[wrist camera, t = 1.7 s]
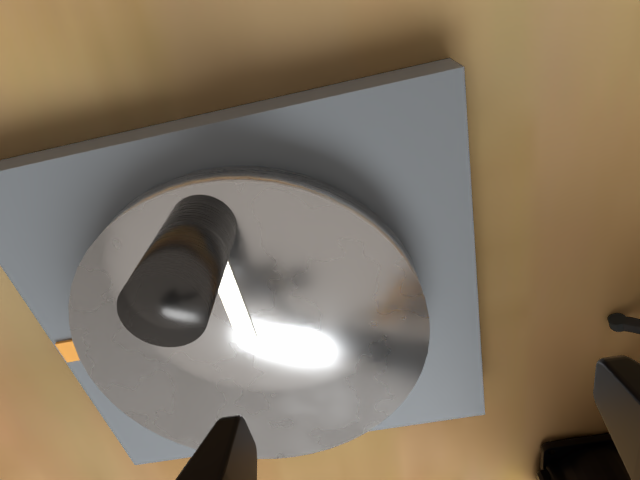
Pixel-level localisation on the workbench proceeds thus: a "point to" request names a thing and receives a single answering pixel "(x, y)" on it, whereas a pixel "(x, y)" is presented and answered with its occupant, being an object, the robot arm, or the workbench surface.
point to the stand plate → (290, 155)
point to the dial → (250, 311)
